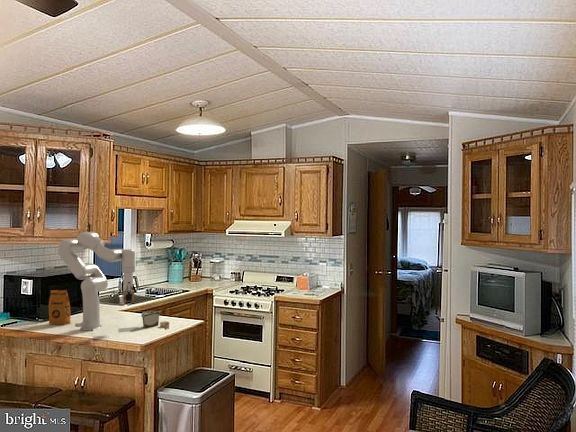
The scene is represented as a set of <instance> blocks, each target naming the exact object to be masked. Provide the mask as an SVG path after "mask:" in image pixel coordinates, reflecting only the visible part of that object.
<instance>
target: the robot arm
mask: <svg viewBox="0 0 576 432" xmlns="http://www.w3.org/2000/svg"><path fill="white" fill-rule="evenodd" d="M105 245H106V244H105V241H104V240H103V239H102V238H100V235H99V234H98V233H97V232H95V231H83V232H80V233H79V234H78V235H77V236H76V238H74V237H73V238H66V239H63V240H61V241H60V242H59V243H58V246H57V253H58V256H59V257H60V259H61V260H62V261H63V263H64V264H65V265H66V267H68V269H69V270H70V271H71V273H72V275H74V277H75V278H76V279H77V280H79V281H80V280H83V281H81V284H80V290H81V295H82V322H80V323H79V322H78V323H74V326H75V327H77V328H80V329H79V330H80V331H82V332H92V331H94V329H100V328H102V327H103V325H102V324H101V323H100V315H101V314H100V313H101V311H100V310H101V309H100V308H101V307H100V306H101V305H100V296H99V294H98V292H101V291H105V290H107V288H108V285H109V282H108V279H107V277H106V276H105V275H104V274H103V272H102V270H100V268H99V267H98V266H97V265H96V264H95V263H91V262H88V263H85V262H83V260H82V259H81V258H80V256H78V255H77V254H76V253H77V252H83V251H84V250H87V249H88V250H90V251H92V252H93V253H95V255H96V256H97V257H98V258H100V259H101V260H104V261H105V262H108V263H115V262H121V273H122V274H123V276H122V277H123V278H122V280H123V281H122V282H123V284H122V285H123V290H126V292H127V294H126V301H131V300H132V294H131V290H133V285H134V273H136V252H135V250H134V249H130V248H129V249H125V248H113V249H110V248H108V247H106V246H105ZM75 252H76V253H75ZM127 290H128V291H127ZM131 302H132V301H131Z"/></svg>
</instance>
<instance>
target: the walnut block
mask: <svg viewBox="0 0 576 432" xmlns="http://www.w3.org/2000/svg"><path fill="white" fill-rule="evenodd" d="M127 291H128V290H127ZM126 294H127V292H126V289H123V291H122V302H123V303H127V302H128V303H129V302H135V290H134V289H131V294H132V300H131V301H126Z"/></svg>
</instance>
